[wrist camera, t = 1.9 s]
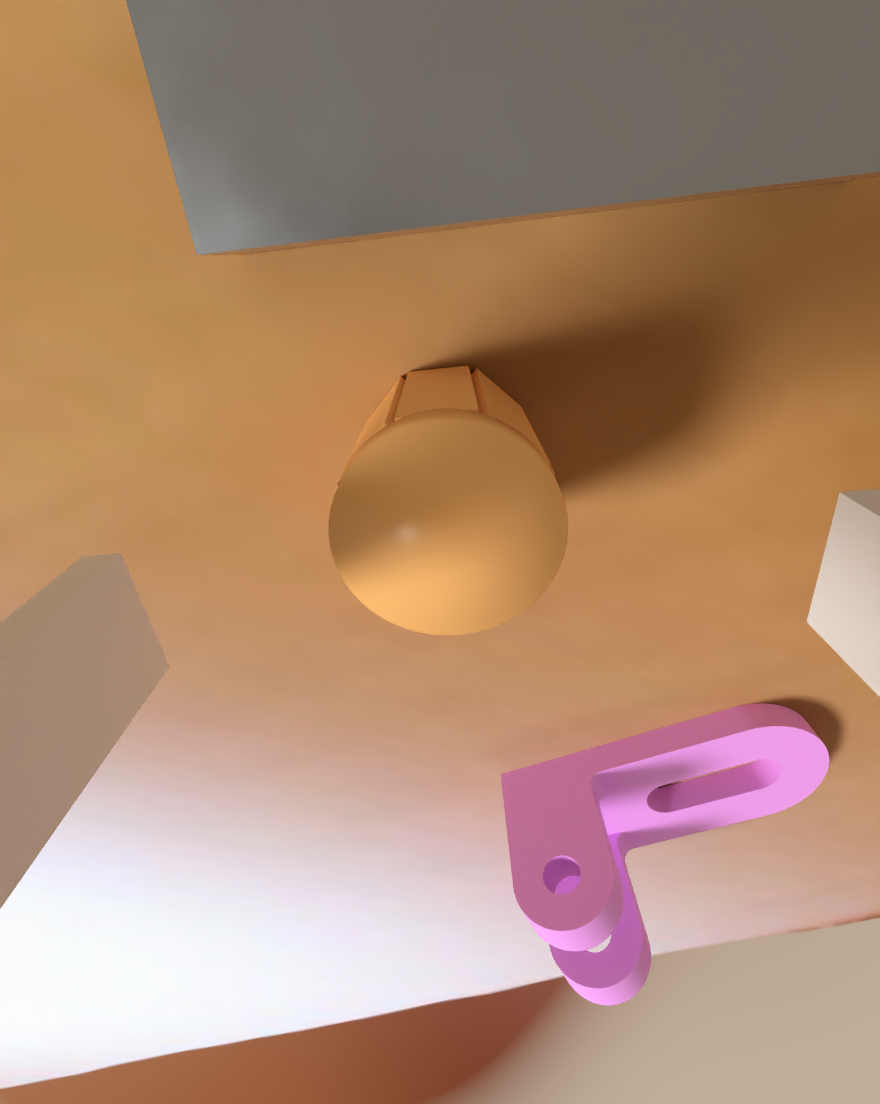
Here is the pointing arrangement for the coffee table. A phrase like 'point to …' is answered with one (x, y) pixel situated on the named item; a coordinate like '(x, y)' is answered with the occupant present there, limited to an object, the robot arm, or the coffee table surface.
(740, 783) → the bracket
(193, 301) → the coffee table surface
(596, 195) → the block
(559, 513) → the orange faceted knob
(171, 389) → the coffee table surface
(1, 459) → the coffee table surface
